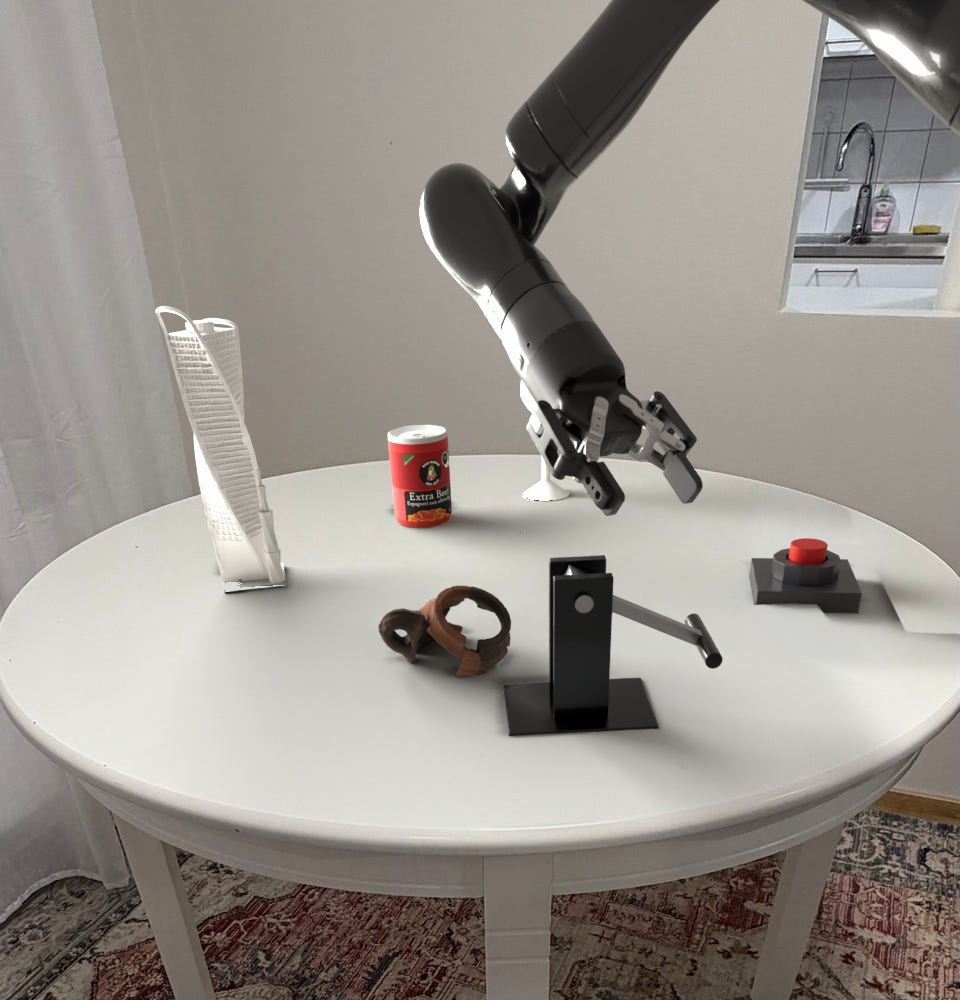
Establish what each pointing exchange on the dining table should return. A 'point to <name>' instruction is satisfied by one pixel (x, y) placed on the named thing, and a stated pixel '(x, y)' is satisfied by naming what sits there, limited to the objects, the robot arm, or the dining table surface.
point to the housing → (805, 583)
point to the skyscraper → (225, 451)
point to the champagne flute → (545, 487)
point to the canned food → (420, 475)
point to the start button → (808, 551)
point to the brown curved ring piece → (448, 630)
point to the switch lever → (667, 625)
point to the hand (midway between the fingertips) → (657, 501)
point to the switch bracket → (579, 663)
